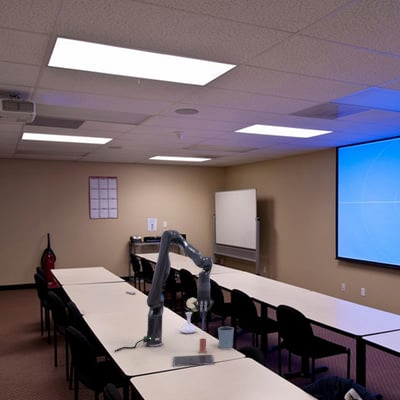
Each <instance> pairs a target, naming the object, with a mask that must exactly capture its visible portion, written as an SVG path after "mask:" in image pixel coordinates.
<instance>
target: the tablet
mask: <svg viewBox="0 0 400 400" xmlns="http://www.w3.org/2000/svg"><path fill="white" fill-rule="evenodd" d="M172 365H173V367H186V366H203V365H205V366H206V365H214V359H213V355H212V354H199V355H198V354H197V355H179V356H178V355H177V356H173V364H172Z"/></svg>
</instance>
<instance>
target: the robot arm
mask: <svg viewBox="0 0 400 400" xmlns="http://www.w3.org/2000/svg"><path fill="white" fill-rule="evenodd" d="M171 245H175V246H177V247H179V248H180V249H181V250H182V253H183V254H184V256H186V257H188V258H189V259H190V260H192V262H193V264H194V265H195V266H196V267H197V268H199V269H202V270H201V271H199V273H198V275H197V277H198V280H197V298H196V299H197V300H196V301H195V302H193V304H194V306H195V308H196V309H197V312H198V311H199V312H200V313H199V316H200V318H201V319H202V318H203V307H204V310H205V311H204V319H205V318H206V317H207V315H208V311H210V310H211V309H212V307H213V305H214V304H215V302H214V300H212V298H211V272H212V268H213V261H214V260H213V259H212V257H211V256H210V255H205V256H202V252H201V251H200V250H198V249H197V248H196V247H194V246H193V245H192V244H191V243H190V242H188V241H187V240H186V239H185V237H183V235H182V234H181V233H180V232H179V231H178V230H176V229H175V230H173V229H165V230H164V231H163V232H162V234H161V238H160V243H159V250H158V254H157V255H158V256H157V261H156V264H155V268H154V272H153V277H152V282H151V287H150V290H149V293H148V295H147V298H146V305H147V307H148V308H149V310H148V313H147V331H146V335H144V336H143V338H142V339H139V340H138V341H136V343H135V344H134V346H122V347H121V346H120V347H119V348H117V349H114V352H117V351H120V350H123V349H135V348H136V347H137V346H138V344H139V343H141V342H143V344H146V347H153V348H154V347H155V348H156V347H160V346H162V345H163V314H164V307H165V301H164V300H165V298H164V295H163V294H162V293H163V289H164V286H165V284H166V282H167V280H168V278H169V275H170V270H171V266H172V263H171V257H170V248H171ZM197 302H198V304H197ZM199 306H200V307H199Z"/></svg>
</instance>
